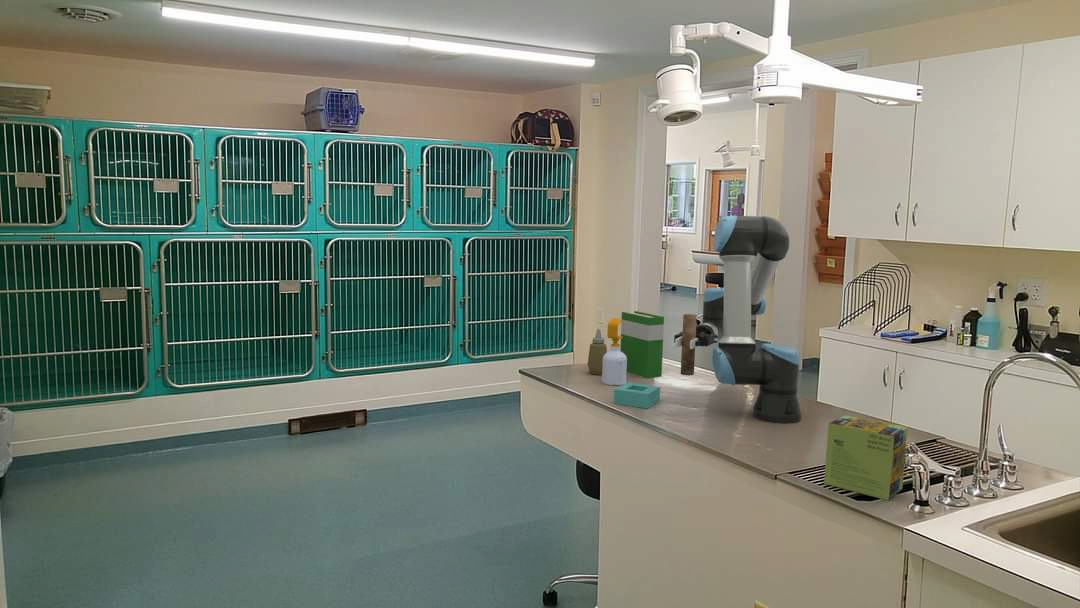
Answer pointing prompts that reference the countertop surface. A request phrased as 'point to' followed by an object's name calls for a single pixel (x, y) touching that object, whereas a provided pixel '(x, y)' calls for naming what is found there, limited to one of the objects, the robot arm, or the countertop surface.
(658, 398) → the socket
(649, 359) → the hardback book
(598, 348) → the squeeze bottle
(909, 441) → the countertop surface
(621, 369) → the soap bottle
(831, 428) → the protein box
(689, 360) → the dowel
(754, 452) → the countertop surface
